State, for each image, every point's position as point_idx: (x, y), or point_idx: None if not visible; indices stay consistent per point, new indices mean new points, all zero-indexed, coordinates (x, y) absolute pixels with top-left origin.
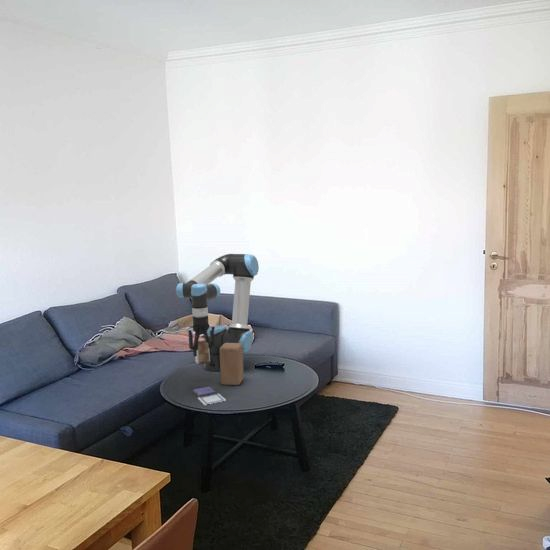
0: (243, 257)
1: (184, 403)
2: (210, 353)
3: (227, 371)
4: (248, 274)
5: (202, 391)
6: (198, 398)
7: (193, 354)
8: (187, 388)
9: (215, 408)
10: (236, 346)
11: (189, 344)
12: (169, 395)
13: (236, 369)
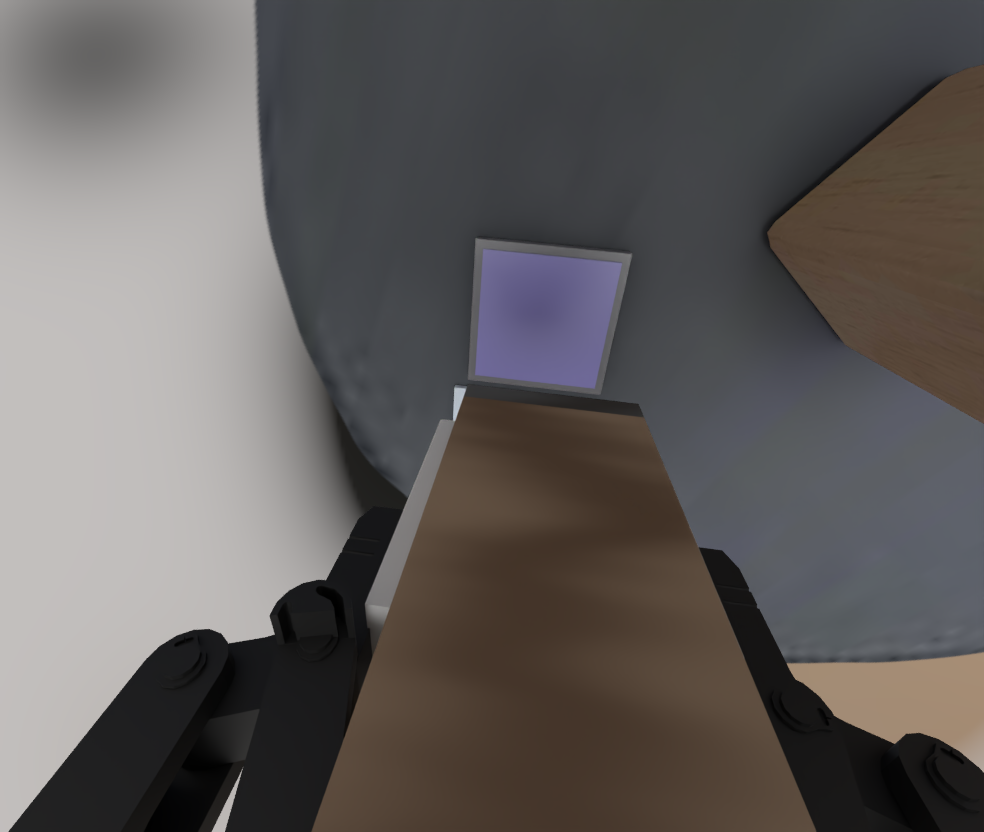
0: None
1: (356, 403)
2: None
3: (877, 320)
4: None
5: (521, 332)
6: (455, 400)
7: (354, 535)
8: (466, 115)
9: None
10: None
11: (58, 829)
12: (284, 194)
13: (950, 404)
